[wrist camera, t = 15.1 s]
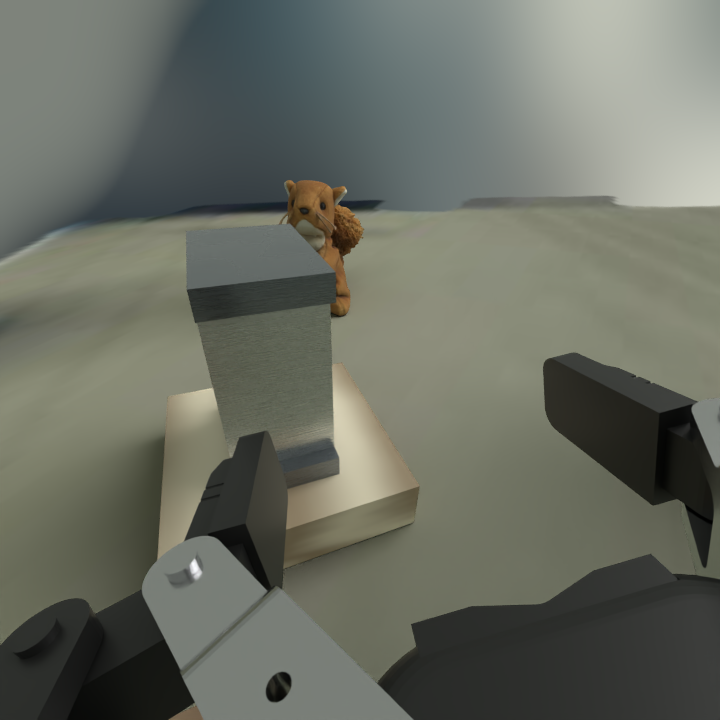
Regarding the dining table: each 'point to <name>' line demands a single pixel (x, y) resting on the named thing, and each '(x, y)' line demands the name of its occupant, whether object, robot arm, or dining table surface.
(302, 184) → the stuffed squirrel
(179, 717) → the walnut stand
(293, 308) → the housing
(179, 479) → the cream slab
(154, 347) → the dining table surface
